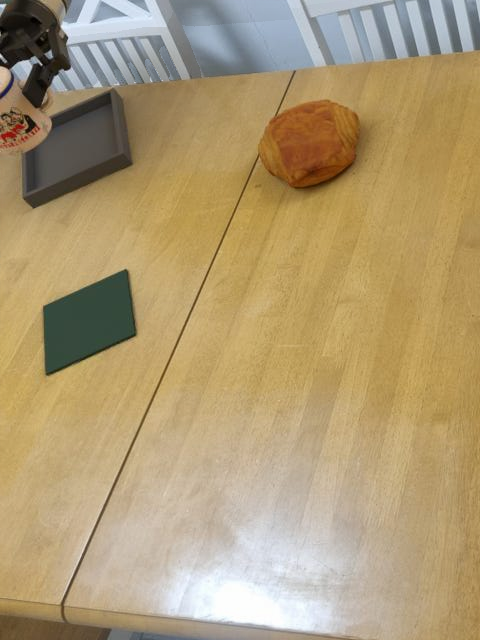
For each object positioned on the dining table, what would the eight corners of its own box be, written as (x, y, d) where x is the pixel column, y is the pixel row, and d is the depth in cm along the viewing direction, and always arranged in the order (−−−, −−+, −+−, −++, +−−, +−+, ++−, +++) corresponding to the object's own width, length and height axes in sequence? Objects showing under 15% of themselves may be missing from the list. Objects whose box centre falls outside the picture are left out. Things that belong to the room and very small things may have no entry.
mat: (47, 375, 98) (45, 374, 98) (44, 307, 106) (42, 306, 105) (136, 335, 99) (134, 333, 98) (127, 270, 106) (126, 268, 106)
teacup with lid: (0, 166, 108) (-65, 102, 98) (-3, 132, 113) (-65, 68, 103) (75, 131, 109) (17, 63, 99) (69, 98, 114) (14, 32, 104)
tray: (32, 208, 119) (22, 198, 117) (30, 139, 130) (21, 128, 128) (132, 164, 119) (123, 152, 117) (122, 98, 130) (113, 87, 128)
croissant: (275, 151, 116) (245, 112, 110) (362, 110, 113) (336, 68, 107) (277, 212, 108) (244, 175, 102) (371, 170, 105) (343, 129, 99)
